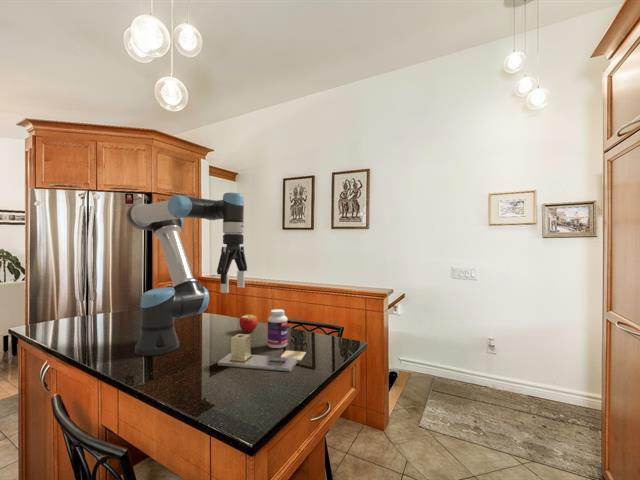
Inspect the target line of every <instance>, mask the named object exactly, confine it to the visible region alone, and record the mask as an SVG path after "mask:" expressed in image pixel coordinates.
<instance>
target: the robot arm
mask: <svg viewBox="0 0 640 480" xmlns="http://www.w3.org/2000/svg"><path fill="white" fill-rule="evenodd" d="M244 206H245V204H244V195H243V194H242V193H239V192H225V193H224V194H223V195H222V199H219V200H218V199H216V200H214V199H207V198H199V197H192V196H187V195H177V194H174V195H172V196H171V197H170V198H168V200H163V201H159V202H153V203H148V204H147V203H142V202H141V203H135V204H132V205H131V206H129V207H128V208H127V210H126V212H125V217H126V221H127V223H128V224H129V225H130V226H131V227H133V228H135V229H137V230H141V231H142V230H143V231H152V232H153V233H152V234H153V237H154V238H156V239H158V240H159V243H160V246H161V250H162V253H163V255H164V260H165V264H166V266H167V269H168V272H169V277H170V279H171V283H172V286H171V287H170V286H169V287H167V286H166V287H165V286H164V287H159V288H153V289H150V290H147V291H145V292H144V293H143V294H142V295H141V299H140V305H139V306H140V332H139V335H138V338H137V340H136V344H135V347H134V353H135V354H136V355H138V356H144V357H148V356H149V357H150V356H159V355H164V354H167V353H168V354H169V353H171V352H174V351H175V350H177V349H178V348H179V345H180V344H179V342H180V341H179V338H178V335H177V333H176V330H175V320H176V319H181V318H187V317H191V316H196V315H199V314H202V313H204V312H205V311H206V310H207V309H208V307H209V302H210V293H209V290H208V289H207V288H206V287H205V286H201V285H200V282H199V279H198V280H197V279H195V277H194V276H193V273H192V271H191V270H192V269H191V267H190V264H189V260H188V258H187V254H186V252H185V249H184V246H183V242H182V239H181V236H180V233H181V231H182V229H183V226H184V219H187V218H194V219H203V220H209V221H216V220H217V221H218V220H222V233H223V236H222V243H223V245H226V246H222V247H221V253H220V256H219V259H218V260H219V261H218V265H217V268H216V274H217V275H220V294H221V293H222V294H229V287H230V286H229V285H230V284H229V278H230V277H229V276H230V275H229V270H230V268H231V264H232V262H233V261H234V263H235V265H236V267H237V276H236V277H237V280H236V281H237V282H236V283H237V285H236V286H237V288H242V289H243V288H245V272H247V271H248V265H247V260H246V256H245V247H244V246H240V245H243V244H244V228H245V225H244V208H245V207H244Z"/></svg>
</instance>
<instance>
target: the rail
mask: <svg viewBox="0 0 640 480" xmlns="http://www.w3.org/2000/svg"><path fill="white" fill-rule="evenodd" d="M271 361H272V362H273V361H274V362H283V364H282V365H273V364H269V363H270V362H271ZM298 362H299V361H298V358H286V357H281V356H271V355H257V354H251V358H250V359H249V360H248V361H247V362H246V363H241V362H231V352H230V353H228V354H226V355H225V356H224V357H223V358H222V359H220V360H219V361H217V366H223V367H235V368H246V369H255V370H256V369H258V370H266V371H267V370H269V371H281V372H290V373H291V371H293V369H294V367H295V366H296V365H297V363H298Z"/></svg>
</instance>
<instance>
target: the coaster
mask: <svg viewBox="0 0 640 480" xmlns="http://www.w3.org/2000/svg"><path fill="white" fill-rule="evenodd" d="M306 354H307V352H306V351H297V350H284V352H283V353H282V354H281V356H280V357H286V358H298V362H302V360H303V358H304V357H305V356H306Z"/></svg>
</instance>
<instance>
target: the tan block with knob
mask: <svg viewBox="0 0 640 480" xmlns="http://www.w3.org/2000/svg"><path fill="white" fill-rule="evenodd" d="M251 337H252V335H251V334H245V333H244V334H243V333H237V334H235V335H233V336H232V337H231V338H230V339H231V342H230V344H231V345H230V348H231V349H230V351H231V352H230V353H231V362H241V363H246V362H247V361H248V360H249V359H250V358H251V355H252V353H251V352H252V351H251V349H252V345H251V344H252V343H251V342H252V341H251V340H252V338H251Z"/></svg>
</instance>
